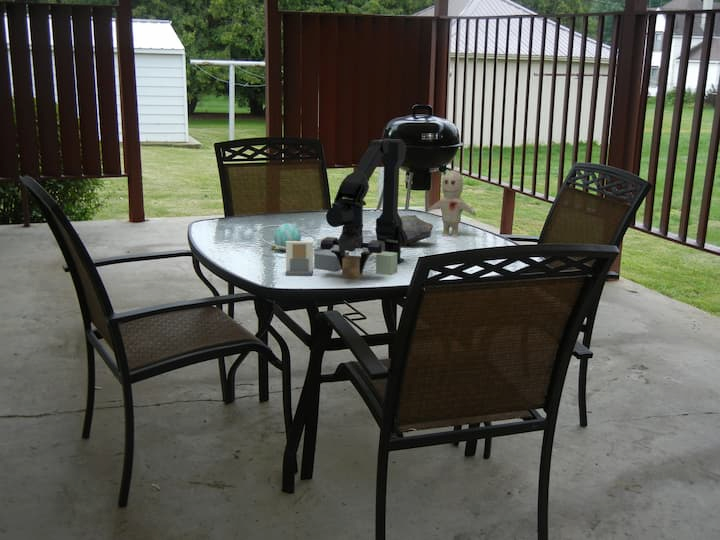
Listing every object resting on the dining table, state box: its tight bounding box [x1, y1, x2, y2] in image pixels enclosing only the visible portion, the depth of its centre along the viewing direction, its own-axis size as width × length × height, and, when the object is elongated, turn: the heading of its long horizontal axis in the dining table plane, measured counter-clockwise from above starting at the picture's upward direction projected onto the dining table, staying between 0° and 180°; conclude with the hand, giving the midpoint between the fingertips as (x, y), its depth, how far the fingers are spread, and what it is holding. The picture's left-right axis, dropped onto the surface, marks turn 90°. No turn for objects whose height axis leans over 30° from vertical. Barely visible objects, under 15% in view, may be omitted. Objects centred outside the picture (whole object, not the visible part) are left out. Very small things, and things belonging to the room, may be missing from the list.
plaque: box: [285, 240, 314, 277], centre depth 234 cm, size 8×5×10 cm, turn 91°
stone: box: [400, 214, 434, 245], centre depth 278 cm, size 18×10×15 cm
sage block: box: [375, 251, 398, 276], centre depth 238 cm, size 5×5×6 cm
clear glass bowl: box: [256, 222, 319, 252], centre depth 265 cm, size 10×20×20 cm
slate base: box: [313, 249, 350, 273], centre depth 243 cm, size 8×8×5 cm
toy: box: [427, 169, 477, 238], centre depth 292 cm, size 18×8×25 cm, turn 65°
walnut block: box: [341, 254, 364, 280], centre depth 232 cm, size 5×5×6 cm
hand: (352, 272), depth 232 cm, fingers closed on walnut block, 5 cm apart
